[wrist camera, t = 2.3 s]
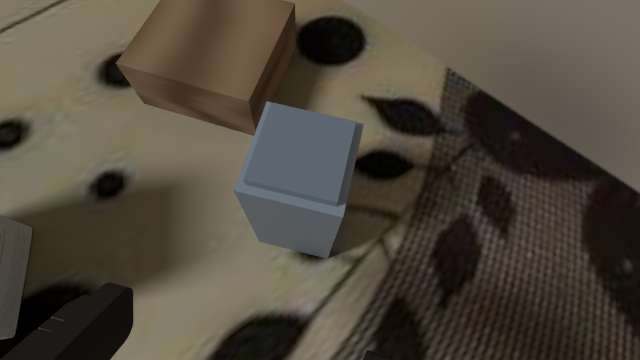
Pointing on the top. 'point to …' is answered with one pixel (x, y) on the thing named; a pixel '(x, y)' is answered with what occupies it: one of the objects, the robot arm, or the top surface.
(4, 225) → the supplement box
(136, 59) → the walnut box
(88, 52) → the top surface
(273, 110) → the pale blue upright prism
